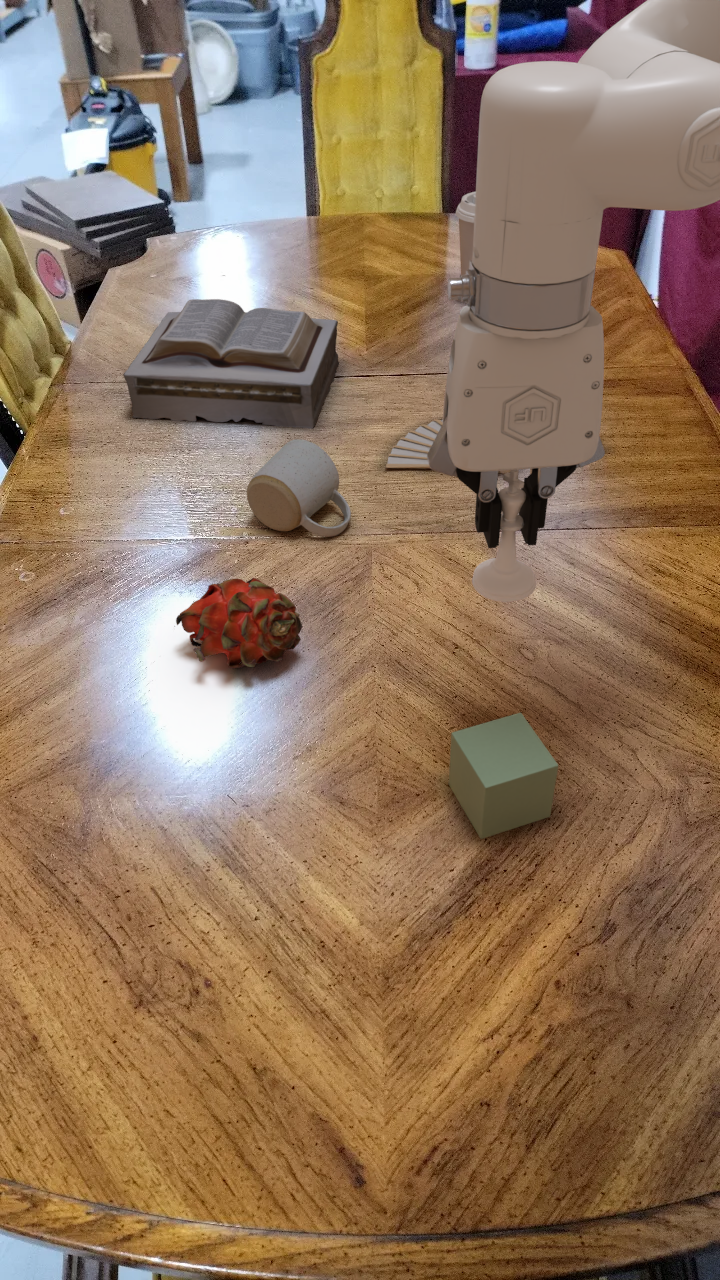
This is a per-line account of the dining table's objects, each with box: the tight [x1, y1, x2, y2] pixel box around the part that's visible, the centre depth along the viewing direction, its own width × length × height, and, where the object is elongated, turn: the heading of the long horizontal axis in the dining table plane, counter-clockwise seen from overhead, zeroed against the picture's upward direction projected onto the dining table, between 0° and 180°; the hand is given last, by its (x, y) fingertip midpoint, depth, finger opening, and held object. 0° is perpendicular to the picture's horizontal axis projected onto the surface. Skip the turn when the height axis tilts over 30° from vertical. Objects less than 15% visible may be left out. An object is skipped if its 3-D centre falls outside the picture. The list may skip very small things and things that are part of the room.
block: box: [448, 712, 559, 840], centre depth 76 cm, size 6×6×6 cm
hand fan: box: [385, 418, 605, 475], centre depth 120 cm, size 26×1×15 cm
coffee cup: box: [455, 191, 476, 305], centre depth 150 cm, size 10×10×15 cm
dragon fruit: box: [173, 577, 304, 670], centre depth 90 cm, size 8×8×12 cm
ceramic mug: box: [246, 438, 352, 538], centre depth 107 cm, size 11×8×8 cm
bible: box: [123, 298, 340, 430], centre depth 130 cm, size 23×27×10 cm
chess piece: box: [471, 469, 537, 603], centre depth 73 cm, size 5×5×10 cm
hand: (508, 534), depth 74 cm, fingers closed on chess piece
